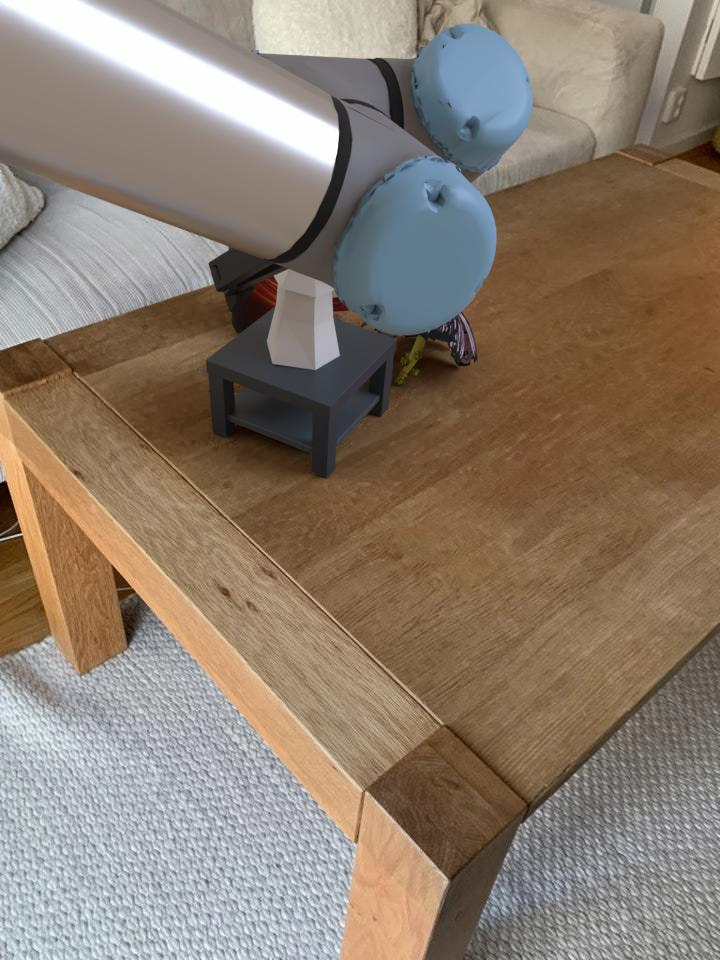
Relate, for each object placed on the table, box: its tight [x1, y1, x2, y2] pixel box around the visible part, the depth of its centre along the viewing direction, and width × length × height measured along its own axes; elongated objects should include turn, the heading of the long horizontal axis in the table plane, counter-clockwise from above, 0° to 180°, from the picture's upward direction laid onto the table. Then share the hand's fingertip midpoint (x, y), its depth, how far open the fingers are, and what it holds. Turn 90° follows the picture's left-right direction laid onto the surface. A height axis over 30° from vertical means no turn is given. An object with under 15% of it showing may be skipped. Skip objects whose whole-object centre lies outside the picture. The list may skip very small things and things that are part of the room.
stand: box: [205, 306, 398, 479], centre depth 85 cm, size 14×14×9 cm
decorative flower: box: [359, 311, 478, 387], centre depth 94 cm, size 14×12×15 cm
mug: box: [227, 246, 350, 335], centre depth 100 cm, size 10×14×12 cm
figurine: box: [267, 269, 340, 370], centre depth 76 cm, size 7×8×18 cm
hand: (294, 285), depth 80 cm, fingers open, 13 cm apart
